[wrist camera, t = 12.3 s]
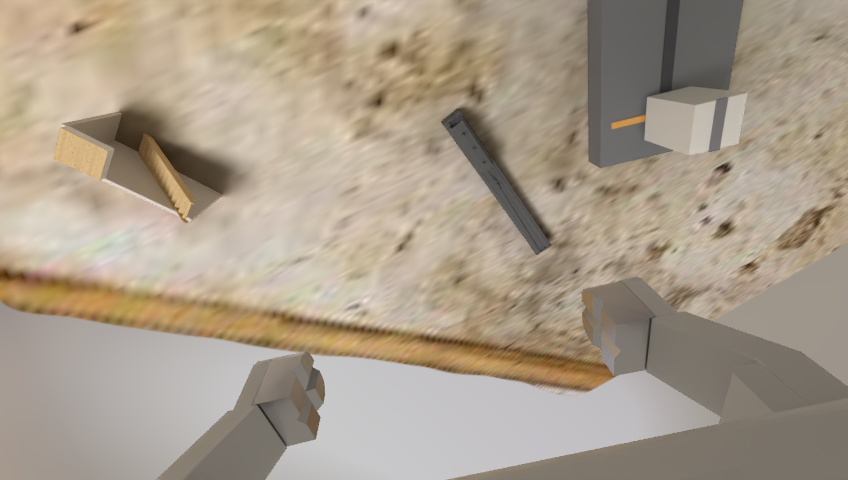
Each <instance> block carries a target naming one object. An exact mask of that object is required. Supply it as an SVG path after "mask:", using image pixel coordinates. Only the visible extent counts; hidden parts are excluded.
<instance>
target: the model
mask: <svg viewBox="0 0 848 480" xmlns="http://www.w3.org/2000/svg"><path fill="white" fill-rule="evenodd" d="M121 116H122V114H121V113H119V112H115V113H110V114H106V115H101V116H96V117H91V118H87V119H82V120H77V121H72V122H68V123H63V124H62V125H61V128H60V132H59V137H58V141H57V146H56V150H55V155H54V159H55V160H57V161H59V162H61V163H64V164H66V165H68V166H70V167H72V168H74V169H76V170H79V171H81V172H83V173H85V174H87V175H89V176H91V177H94V178H96V179H98V180H102V181H104V182H106V183H108V184H110V185H112V186H115V187H117V188H119V189H121V190H123V191H125V192H127V193H130V194H132V195H134V196H136V197H138V198H140V199H142V200H145V201H147V202H149V203H151V204H153V205H155V206H157V207H160V208H162V209H164V210H166V211H168V212H170V213H172V214H175V215H177V216H179V217H180V218H181V220H182V221H183V222H184V223H187V222H188V221H190V222H191V221H192V220H193V219H195V218H196V217H197V216H198V215H199V214H201V213H202V212H203V211H204V210H206V209H207V208H208V207H209V206H210V205H212V204H213V203H214V202H215V201H217V200H218V199H219V198H220V197H221V196H222V194H221V193H219V192H217V191H215V190H213V189H211V188H209V187H207V186H205V185H203V184H201V183H199V182H197V181H195V180H193V179H191V178H189V177H187V176H185V175H183V174H181V173H179V172H177V171H175V169H174V168H173V166H172V165H171V163H170V162H169V161H168V159H167V158H166V156H165V155H164V153H163V152H162V151H161V149H160V148H159V146H158V145H157V143H156V142H155V141H154V139H153V138H152V137H151V136H149V135H147V134H145V133H143V132H142V133H143V134H144V135H143V138H142V141H141V144H140V147H139V151H135V150H133V149H131V148H129V147H127V146H125V145H123V144H121V143H119V142H117V141H115V137H116V133H117V130H118V127H119V123H120V120H121Z"/></svg>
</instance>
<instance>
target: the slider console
mask: <svg viewBox="0 0 848 480" xmlns="http://www.w3.org/2000/svg"><path fill="white" fill-rule="evenodd" d="M742 5H743V0H588V125H589V162H591V163H593V164H594V165H596V166H598V167H600V168H602V167H606V166H610V165H615V164H619V163H623V162H627V161H632V160H636V159H640V158H644V157H649V156H653V155H657V154H661V153H666V152H670V151H674V150H671V149H668V148H666V147H663V146H660V145H657V144H654V143H651V142H649V141H646V140H644V136H645V121H646V106H647V97H649V96H653V95H657V94H661V93H665V92H669V91H674V90H678V89H682V88H686V87H690V86H693V87H702V88H711V89H720V90H728V89H729V83H730V77H731V71H732V65H733V59H734V53H735V47H736V41H737V35H738V29H739V23H740V17H741V11H742Z"/></svg>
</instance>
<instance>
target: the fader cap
mask: <svg viewBox="0 0 848 480" xmlns="http://www.w3.org/2000/svg"><path fill="white" fill-rule="evenodd" d="M747 95H748V93H746V92H738V91H729V90H720V89H711V88H702V87H693V86H690V87H686V88H682V89H678V90H674V91H669V92H665V93H661V94H657V95H653V96H649V97H647V106H646V121H645V136H644V140H646V141H649V142H651V143H654V144H657V145H660V146H663V147H666V148H668V149H671V150H674V151H677V152H680V153H683V154H686V155H688V156H689V155H694V154H698V153H702V152H706V151H708V152H712V151H716V150H720V148H723V147H728V146H732V145H736V144H738V142H739V137H740V132H741V127H742V121H743V116H744V111H745V106H746V100H747Z"/></svg>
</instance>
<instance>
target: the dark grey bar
mask: <svg viewBox="0 0 848 480" xmlns="http://www.w3.org/2000/svg"><path fill="white" fill-rule="evenodd" d="M441 123H442V124H443V126H445V128H446V129H447V130H448V132H449V133H450V135H451V136H452V137H453V139H454V140H455V142H456V143H457V144H458V146H459V147H460V149H461V150H462V151H463V153H464V154H465V156H466V157H467V158H468V160H469V161H470V163H471V164H472V165H473V167H474V168H475V169H476V171H477V172H478V174H479V175H480V176H481V178H482V179H483V181H484V182H485V183H486V185H487V186H488V188H489V189H490V190H491V192H492V193H493V195H494V196H495V197H496V199H497V200H498V202H499V203H500V204H501V206H502V207H503V209H504V210H505V211H506V213H507V214H508V216H509V217H510V218H511V220H512V221H513V222H514V224H515V225H516V227H517V228H518V229H519V231H520V232H521V234H522V235H523V236H524V238H525V239H526V241H527V242H528V243H529V245H530V246H531V248H532V249H533V251H534V252H535V254H536V255H538V254H539V253H541V252H542V251H544V250H545V249H547V248H549V247H550V246H552V245H551V244H550V242H549V241H548V239H547V238H546V237H545V235H544V234H543V232H542V231H541V229H540V228H539V226H538V225H537V223H536V222H535V220H534V219H533V217H532V216H531V215H530V213H529V212H528V210H527V209H526V207H525V206H524V204H523V203H522V201H521V200H520V198H519V197H518V195H517V194H516V193H515V191H514V190H513V188H512V187H511V185H510V184H509V182H508V181H507V179H506V178H505V176H504V175H503V173H502V172H501V171H500V169H499V168H498V166H497V165H496V163H495V162H494V160H493V159H492V157H491V156H490V154H489V153H488V151H487V150H486V149H485V147H484V146H483V144H482V143H481V141H480V140H479V138H478V137H477V135H476V134H475V132H474V131H473V129H472V128H471V127H470V125H469V124H468V122H467V121H466V119H465V118H464V116H463V115H462V113H461V112H460V111H459V110H458V109H456V110H455V111H454V112H453V113H451V114H450V115H449V116H448V117H446V118H445V119H444V120H443V121H441Z"/></svg>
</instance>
